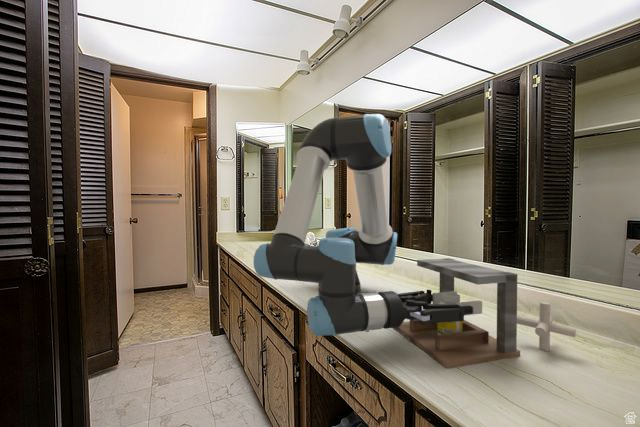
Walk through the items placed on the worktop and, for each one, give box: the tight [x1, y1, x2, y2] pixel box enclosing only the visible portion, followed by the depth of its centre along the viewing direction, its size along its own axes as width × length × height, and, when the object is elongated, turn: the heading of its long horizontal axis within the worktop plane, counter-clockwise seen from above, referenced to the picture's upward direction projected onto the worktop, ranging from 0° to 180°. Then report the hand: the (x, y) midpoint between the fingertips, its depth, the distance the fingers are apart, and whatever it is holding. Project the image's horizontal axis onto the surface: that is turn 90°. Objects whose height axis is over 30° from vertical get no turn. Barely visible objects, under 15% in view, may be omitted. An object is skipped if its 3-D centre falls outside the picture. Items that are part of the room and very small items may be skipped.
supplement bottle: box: [437, 292, 463, 335], centre depth 67 cm, size 5×5×10 cm
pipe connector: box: [517, 301, 577, 352], centre depth 63 cm, size 10×10×10 cm
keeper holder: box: [394, 257, 521, 369], centre depth 67 cm, size 20×18×17 cm
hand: (467, 301), depth 68 cm, fingers open, 7 cm apart
